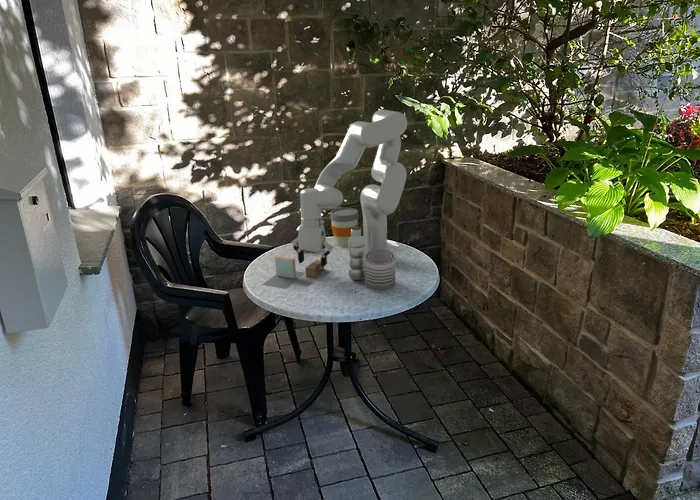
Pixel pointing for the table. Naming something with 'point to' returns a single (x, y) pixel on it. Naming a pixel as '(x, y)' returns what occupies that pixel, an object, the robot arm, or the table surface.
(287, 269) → the tile
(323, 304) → the table surface
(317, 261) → the tall brown block
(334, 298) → the table surface
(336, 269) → the table surface
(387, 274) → the ribbed tin
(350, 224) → the reusable coffee cup
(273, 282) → the mat
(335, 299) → the table surface
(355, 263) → the silver bottle
